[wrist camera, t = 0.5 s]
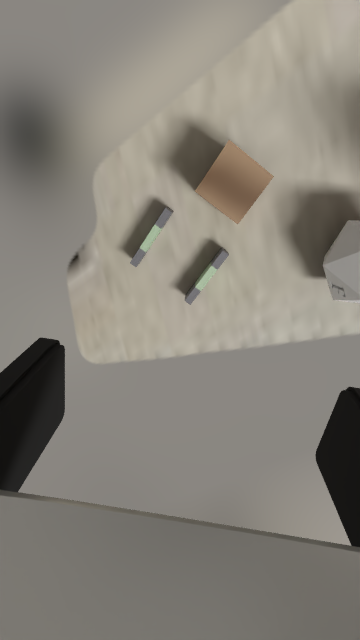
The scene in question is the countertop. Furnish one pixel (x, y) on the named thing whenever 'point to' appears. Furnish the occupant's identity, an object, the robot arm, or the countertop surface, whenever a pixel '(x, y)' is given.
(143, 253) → the grey blocks
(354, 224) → the die
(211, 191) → the walnut block
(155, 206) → the countertop surface
